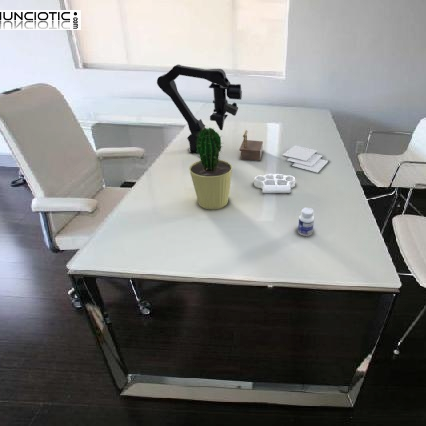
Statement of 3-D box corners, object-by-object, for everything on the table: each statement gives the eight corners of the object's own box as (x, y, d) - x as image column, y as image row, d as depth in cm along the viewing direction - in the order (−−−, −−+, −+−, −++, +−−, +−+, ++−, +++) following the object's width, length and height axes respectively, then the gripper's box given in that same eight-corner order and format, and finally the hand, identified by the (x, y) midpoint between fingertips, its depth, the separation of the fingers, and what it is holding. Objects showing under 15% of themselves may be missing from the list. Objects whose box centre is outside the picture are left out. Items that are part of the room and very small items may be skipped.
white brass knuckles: (255, 195, 130) (253, 178, 142) (297, 194, 133) (292, 179, 145) (255, 188, 128) (253, 172, 140) (298, 187, 131) (293, 172, 143)
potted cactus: (214, 217, 115) (208, 137, 98) (184, 203, 121) (174, 126, 105) (241, 200, 126) (240, 126, 109) (212, 188, 132) (207, 117, 116)
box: (241, 159, 159) (240, 150, 157) (244, 149, 170) (244, 141, 168) (259, 161, 159) (260, 152, 157) (262, 150, 171) (262, 142, 168)
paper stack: (333, 155, 172) (333, 154, 171) (317, 172, 152) (317, 171, 152) (294, 146, 179) (294, 145, 179) (274, 161, 160) (274, 160, 159)
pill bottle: (296, 227, 113) (299, 206, 108) (311, 227, 114) (314, 206, 109) (298, 236, 109) (300, 214, 104) (313, 236, 109) (316, 215, 104)
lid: (239, 150, 156) (239, 136, 153) (243, 141, 168) (243, 127, 164) (260, 152, 157) (260, 138, 153) (262, 142, 168) (263, 129, 164)
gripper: (233, 104, 142) (234, 137, 151) (239, 95, 158) (240, 125, 166) (208, 102, 142) (210, 135, 151) (217, 93, 158) (219, 123, 166)
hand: (221, 130), depth 158 cm, fingers closed
